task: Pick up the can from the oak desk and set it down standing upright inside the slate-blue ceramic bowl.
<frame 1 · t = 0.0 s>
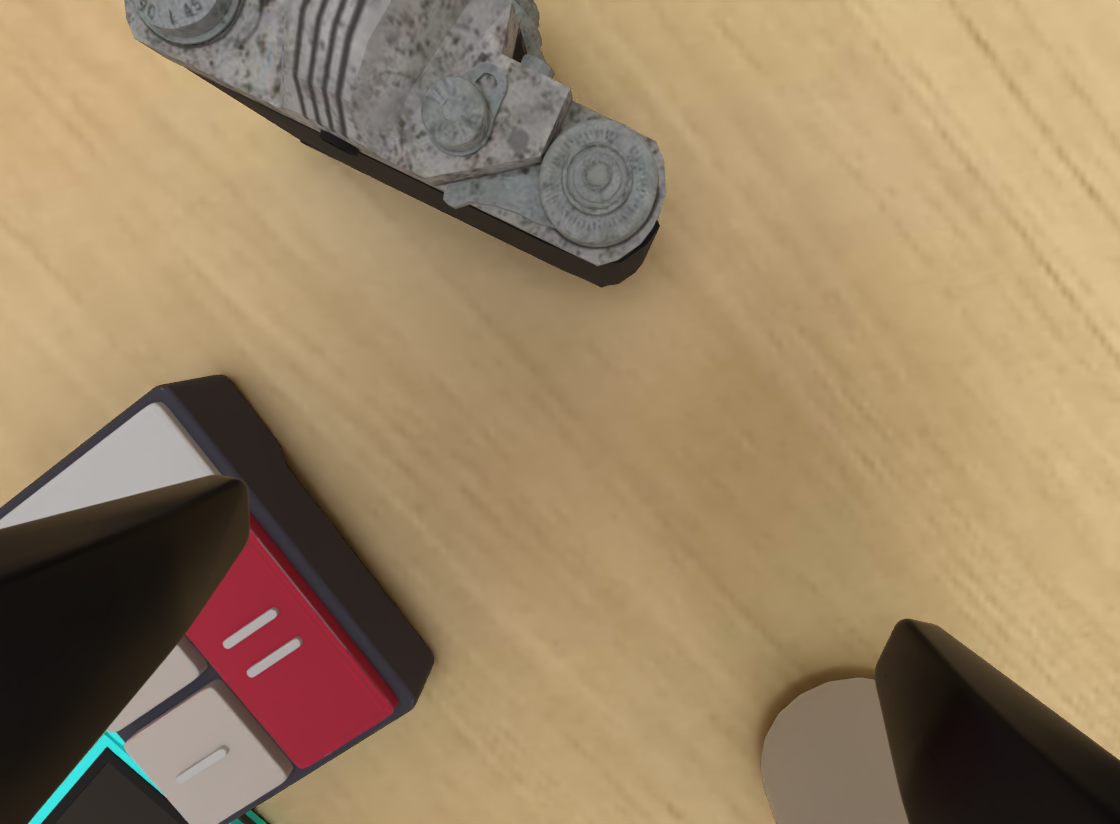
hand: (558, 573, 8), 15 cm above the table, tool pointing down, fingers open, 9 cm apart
can: (846, 747, 25), on the table
red and grey device: (241, 584, 26), on the table
camera: (485, 138, 23), on the table
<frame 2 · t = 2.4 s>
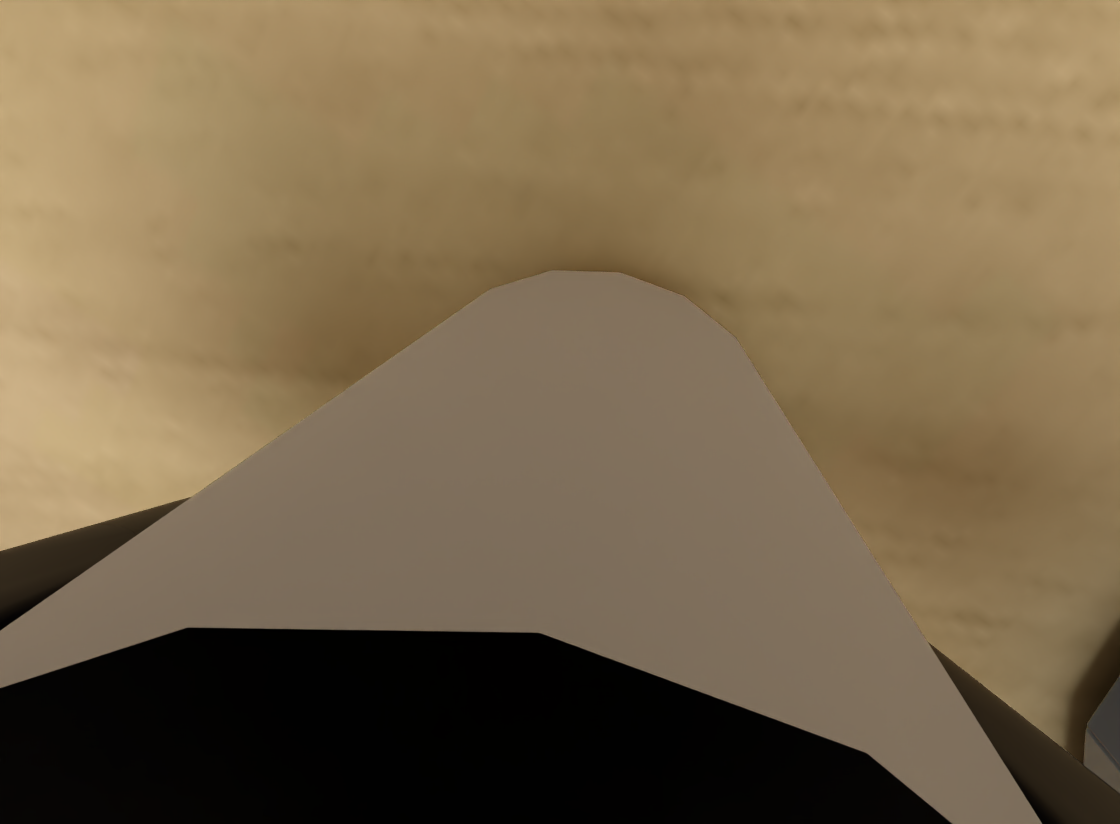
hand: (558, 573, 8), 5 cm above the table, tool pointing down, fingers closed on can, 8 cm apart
can: (584, 442, 13), on the table, touching gripper
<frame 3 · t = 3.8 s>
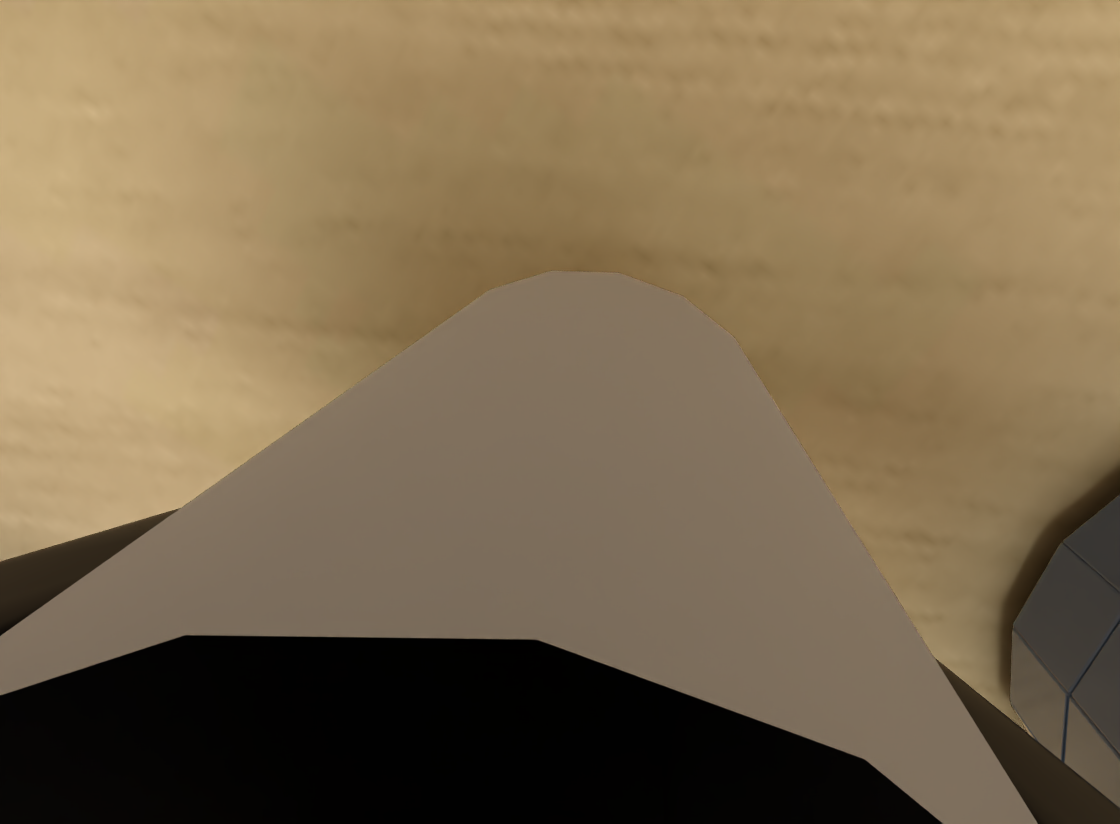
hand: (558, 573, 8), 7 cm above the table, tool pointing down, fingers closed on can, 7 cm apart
can: (584, 441, 13), point 2 cm above the table, touching gripper
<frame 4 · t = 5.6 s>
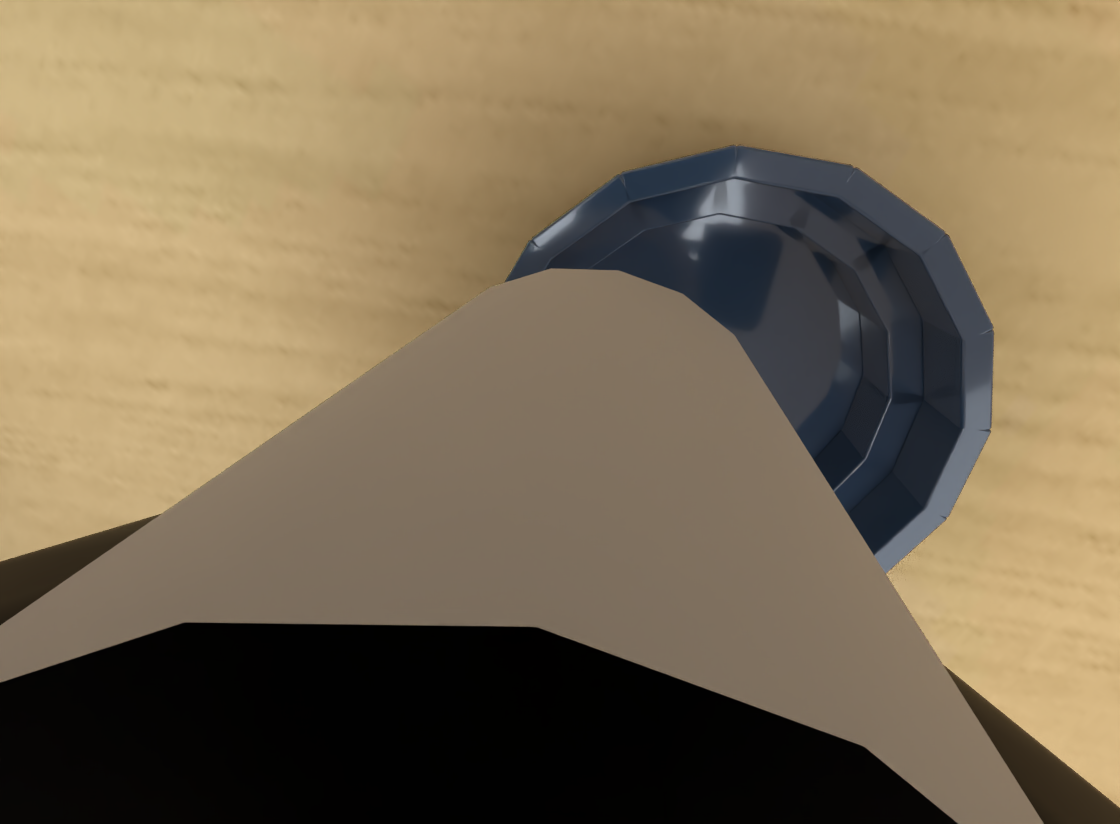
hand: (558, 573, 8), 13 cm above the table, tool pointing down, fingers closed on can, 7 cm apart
can: (584, 440, 13), point 8 cm above the table, touching gripper
bowl: (698, 366, 20), on the table
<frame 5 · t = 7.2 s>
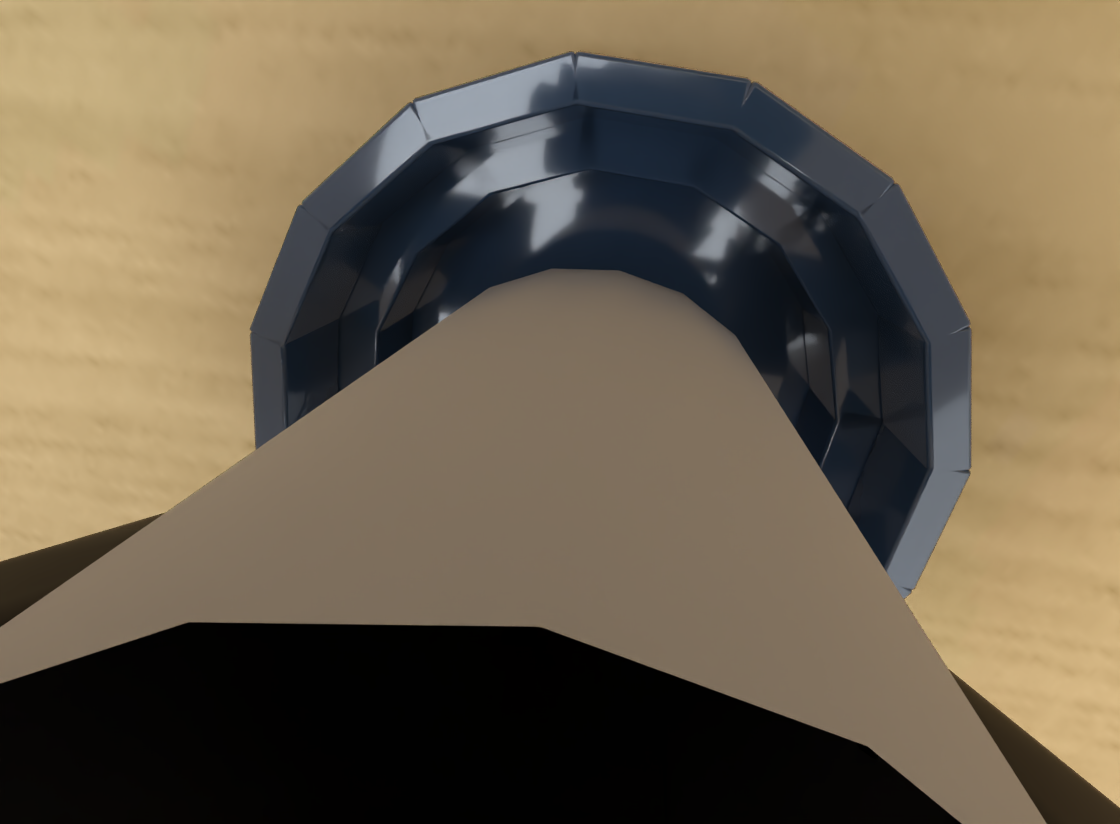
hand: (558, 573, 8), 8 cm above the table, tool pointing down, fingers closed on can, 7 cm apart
can: (584, 440, 13), point 3 cm above the table, touching gripper
bowl: (602, 376, 16), on the table
when the fingers open (5 cm above the table, at t = 8.7 s): can stays where it is, resting on bowl.
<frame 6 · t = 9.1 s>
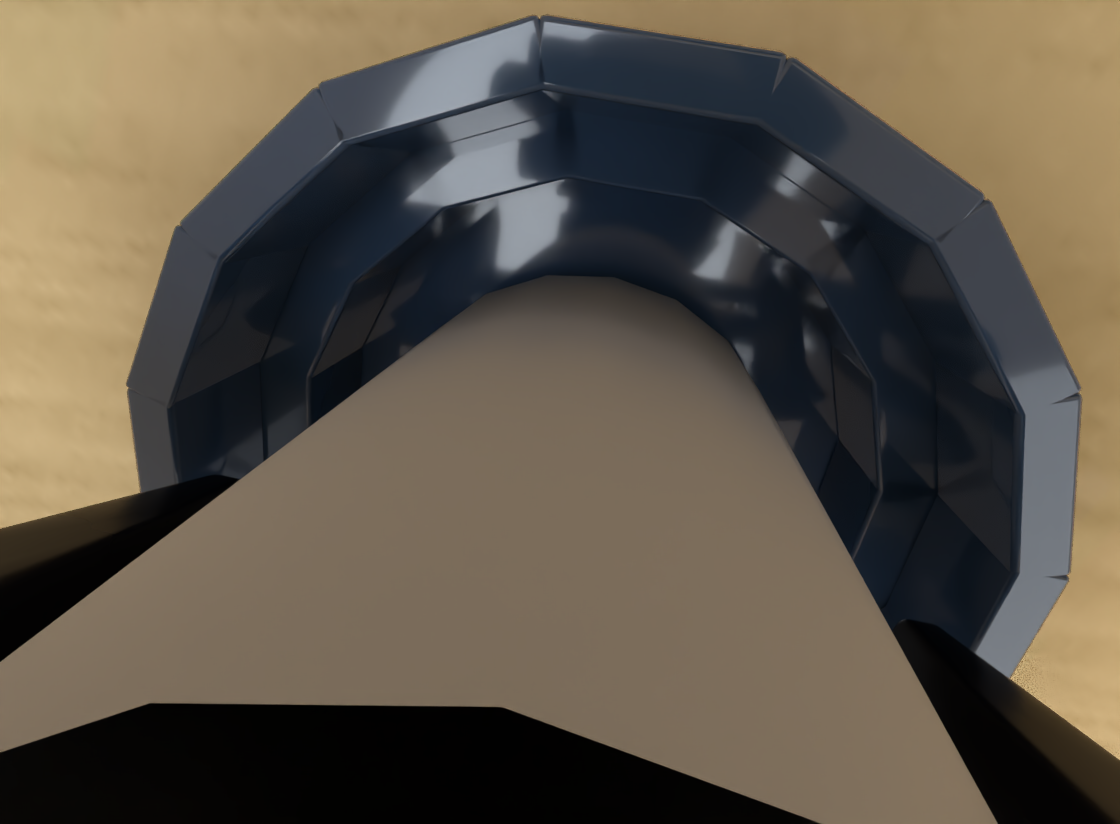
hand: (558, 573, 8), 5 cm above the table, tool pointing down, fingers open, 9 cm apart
can: (581, 442, 13), resting on bowl
bowl: (589, 422, 13), on the table
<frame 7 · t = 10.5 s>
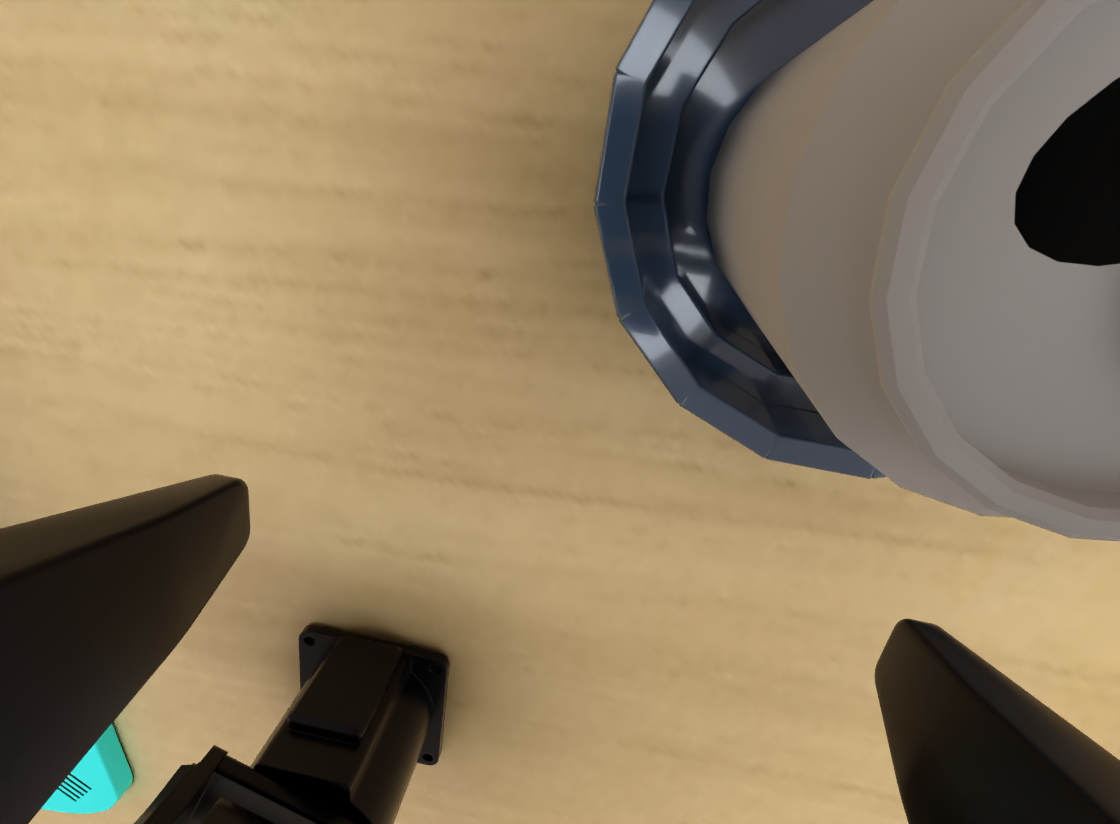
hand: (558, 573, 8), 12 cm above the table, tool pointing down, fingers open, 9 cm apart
handheld game console: (14, 677, 30), on the table
can: (842, 194, 16), resting on bowl
bowl: (844, 183, 17), on the table
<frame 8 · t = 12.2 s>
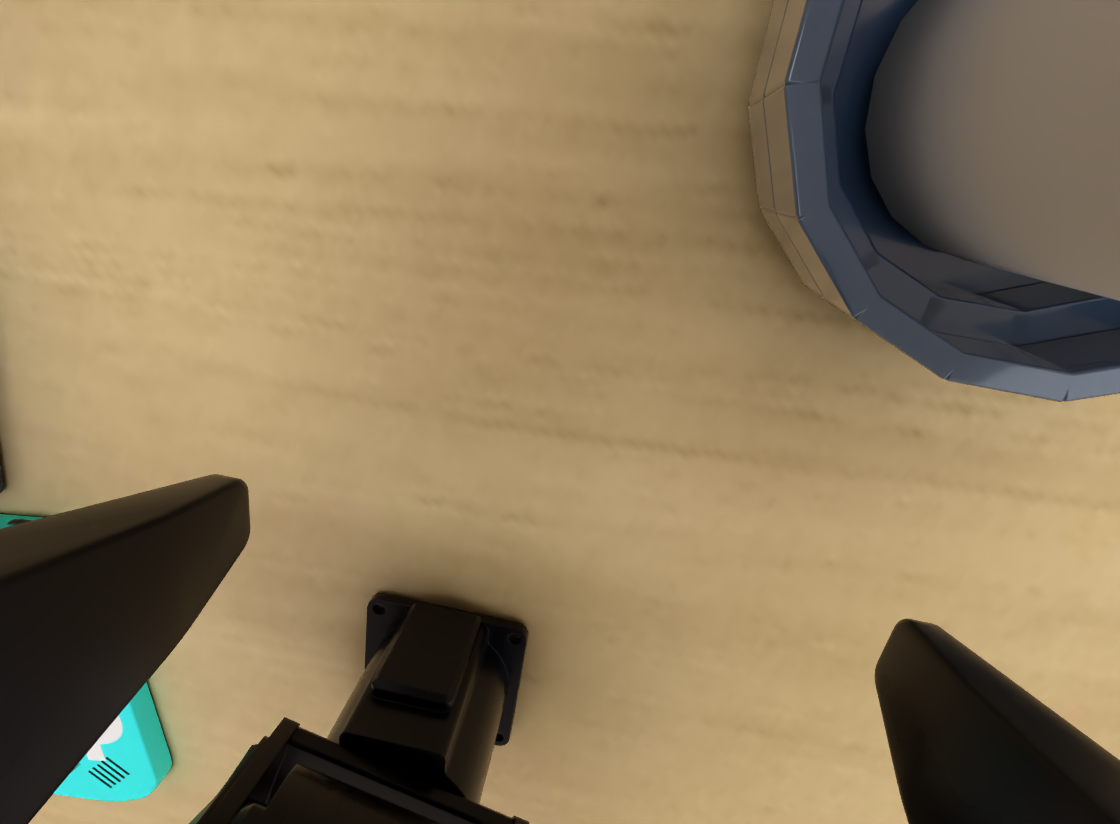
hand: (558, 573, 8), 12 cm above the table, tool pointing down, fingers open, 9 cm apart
handheld game console: (49, 654, 28), on the table
can: (1007, 106, 15), resting on bowl
bowl: (1006, 96, 15), on the table
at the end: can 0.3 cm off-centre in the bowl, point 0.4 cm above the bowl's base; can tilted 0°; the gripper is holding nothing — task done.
